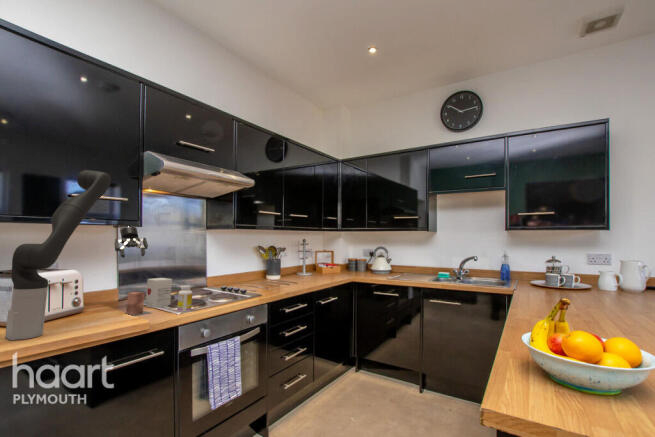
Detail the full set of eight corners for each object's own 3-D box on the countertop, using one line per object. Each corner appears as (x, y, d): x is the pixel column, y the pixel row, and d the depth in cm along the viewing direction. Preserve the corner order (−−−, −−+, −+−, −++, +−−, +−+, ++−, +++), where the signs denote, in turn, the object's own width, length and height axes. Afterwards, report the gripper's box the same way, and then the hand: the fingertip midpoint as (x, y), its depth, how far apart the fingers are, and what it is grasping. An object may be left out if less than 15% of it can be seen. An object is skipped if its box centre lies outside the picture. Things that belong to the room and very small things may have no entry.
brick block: (132, 315, 147) (133, 293, 148) (126, 313, 150) (127, 292, 151) (142, 313, 152) (144, 292, 153) (136, 312, 154) (138, 291, 155)
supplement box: (144, 306, 169) (146, 278, 171) (160, 304, 177) (162, 277, 179) (155, 308, 165) (157, 280, 167) (170, 306, 173) (172, 278, 174)
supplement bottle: (191, 309, 166) (193, 284, 167) (190, 312, 160) (192, 286, 161) (177, 310, 164) (179, 285, 165) (176, 312, 158) (178, 286, 159)
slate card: (127, 318, 143) (127, 317, 143) (115, 315, 148) (115, 314, 148) (152, 313, 154) (152, 313, 154) (140, 311, 158) (141, 310, 159)
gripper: (113, 226, 159) (118, 253, 151) (145, 225, 168) (150, 250, 161) (111, 235, 163) (115, 261, 156) (142, 234, 173) (147, 258, 166)
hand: (133, 256), depth 159 cm, fingers open, 8 cm apart
